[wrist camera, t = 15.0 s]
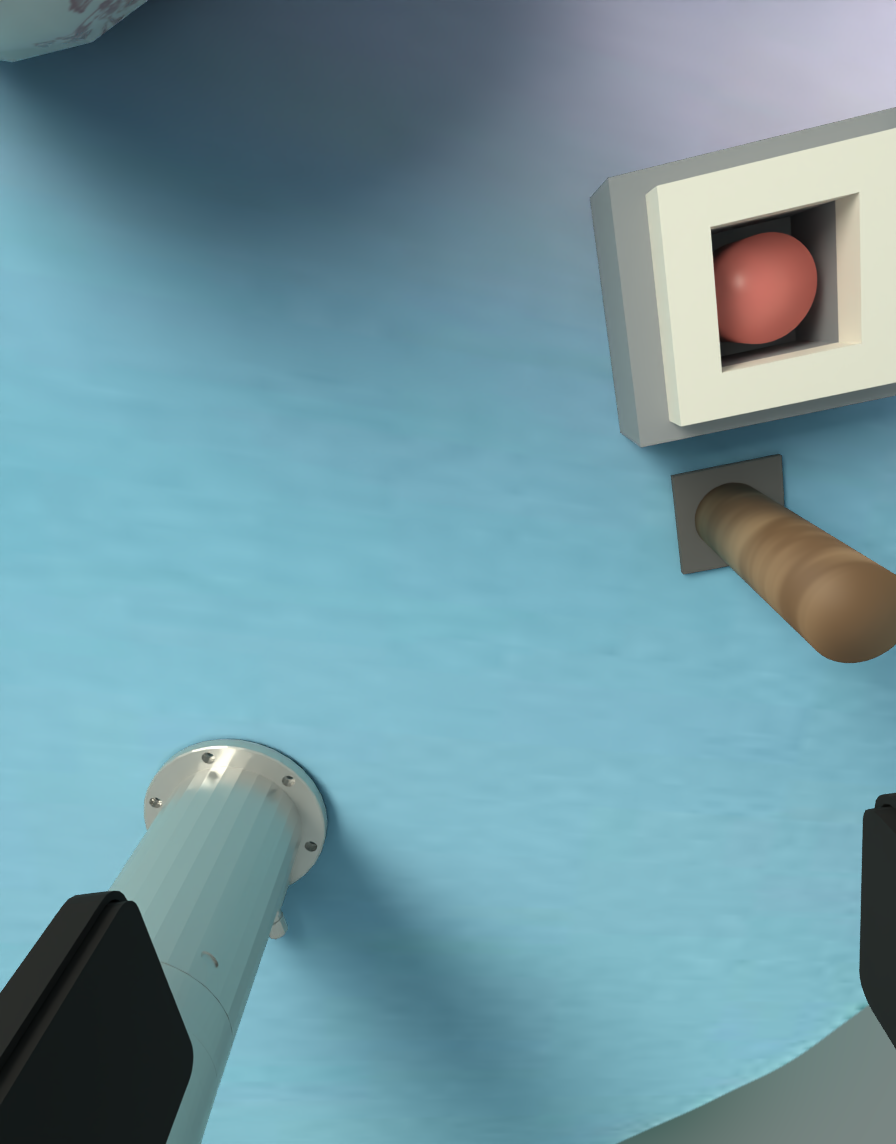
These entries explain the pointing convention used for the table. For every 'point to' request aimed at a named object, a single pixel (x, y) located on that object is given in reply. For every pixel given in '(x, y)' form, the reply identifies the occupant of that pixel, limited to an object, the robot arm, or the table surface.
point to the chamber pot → (56, 24)
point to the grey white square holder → (687, 286)
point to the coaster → (698, 483)
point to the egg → (762, 287)
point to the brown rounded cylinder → (802, 573)
